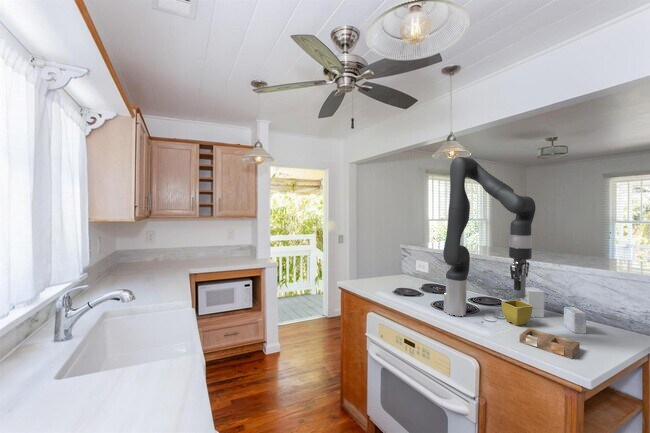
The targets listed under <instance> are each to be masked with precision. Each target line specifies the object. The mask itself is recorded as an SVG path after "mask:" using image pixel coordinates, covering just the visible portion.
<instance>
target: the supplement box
mask: <svg viewBox="0 0 650 433" xmlns="http://www.w3.org/2000/svg"><path fill="white" fill-rule="evenodd" d="M545 294H546V292H545V291H544V290H542V289H540V288H537V287H535V286H534V287H533V286H532V287H530V286H529V287H528V286H526V290H525V298H519V299H520V300H519V301H520V302H523V303H526V304H529V305H532V306H533V309H532V314H531V316H537V317H536V318H545Z"/></svg>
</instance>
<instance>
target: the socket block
mask: <svg viewBox="0 0 650 433" xmlns="http://www.w3.org/2000/svg"><path fill="white" fill-rule="evenodd" d="M519 343H520V344H524V345H527V346H530V347H533V348H537V349H539V350H542V351H546V352H548V353H551V352H552V354H554V355H555V354H556V355H558V356H562V357H565V358H567V359H570V360H572V359H573V358H575V356H576V355H577V354H578V352H580V342H579V341H575V340H572V339H569V338H566V337H562V336H559V335H555V334H551V333H548V332H544V331H541V330H538V329H534V328H530V327H528V328H527V329H526V330H524V331H523V332H521V333H520V334H519Z"/></svg>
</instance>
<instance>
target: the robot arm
mask: <svg viewBox="0 0 650 433" xmlns="http://www.w3.org/2000/svg"><path fill="white" fill-rule="evenodd" d="M466 178H468V179H470V180H473V181H475V182H476V183H479V185H480V186H481V187H482V188H483V190H484V191H485V192H486V193H487V194H488V195H489V196H491V197H492V198H494V199H495V200H497V201H499V202H500V204H501V205H502V206H503V207H504V208H505V209H506V210H507V211H509V212H510V213H512V214H515V219H513V220H512V221H511V222H510V229H509V230H510V231H509V233H510V234H509V235H510V236H509V239H508V240H509V243H508V244H509V245H508V246H509V248H508V256H509V258H511V259H513V262H512V264H511V265H510V266H509V270H510V277H511V280H513V291H514V290H521V276H522V275H523V272H526V278H528V276H529V269H530V262H529V261H527V260H531V259H532V252H533V239H532V224H533V221H534V218H535V214H536V209H537V208H536V202H535V200H534V199H533V198H532V197H530V196H525V195H524V196H522V195H519V194H517V193H515V191H514V189H513V188H512V187H511V186H510V185H508V184H507V183H505V182H503V181H502V180H500V179H498V178H496V177H495V176H494V175H493V174H491V173H489V172H488V171H487V170H486V169H485V168H484V167H482V166H481V165H480V163H478V162H477V161H476V160H475V159H473V158H471V157H466V156H465V157H464V156H457V157H454V158H453V159H452V161H451V163H450V167H449V184H450V185H449V186H450V187H449V189H450V190H449V203H448V204H449V205H448V212H447V213H448V215H447V228H446V235H445V236H446V237H445V242H444V247H443V254H442V257H443V259H444V261H445V263H446V264H447V265H448V266H450V268H449V269H448V270H447V271H446V273H445V274H446V276H445V292H444V293H443V313H445V312H446V313H445V314H447V315H449V314H450V315H449V316H451V315H455V316H454V317H457V316H462V317H464V316H463V315H465V316H466V315H467V292H468V291H467V287H468V284H467V281H468V276H469V272H470V262H471V260H470V259H471V255H470V252H469V249H468V248H467V247H466V246H464V245H461V240H462V235H463V233H464V230H465V229H466V227H467V225H468V224H469V220H470V214H471V212H470V211H471V203H470V200H469V197H468V195H467V192H466V186H465V184H466V183H465V182H466ZM519 272H521V273H519ZM516 276H517V277H516Z"/></svg>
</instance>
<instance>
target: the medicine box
mask: <svg viewBox="0 0 650 433" xmlns="http://www.w3.org/2000/svg"><path fill="white" fill-rule="evenodd" d="M563 326H564V327H565V328H567V329H568V330H569V331H571V332H573V333H574V334H584V335H586V333H587V313H586V312H584V311H582V310H581V309H578V308H577V307H574V306H564V307H563Z"/></svg>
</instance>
